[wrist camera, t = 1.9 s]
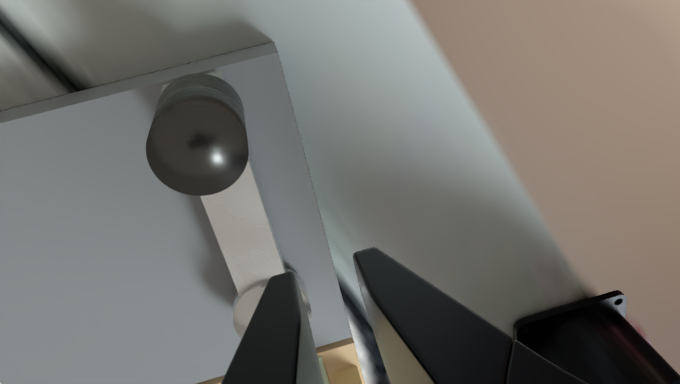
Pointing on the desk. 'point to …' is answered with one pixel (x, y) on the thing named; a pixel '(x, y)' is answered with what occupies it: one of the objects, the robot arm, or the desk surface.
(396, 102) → the desk surface
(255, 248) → the door handle
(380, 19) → the desk surface
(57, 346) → the door board
